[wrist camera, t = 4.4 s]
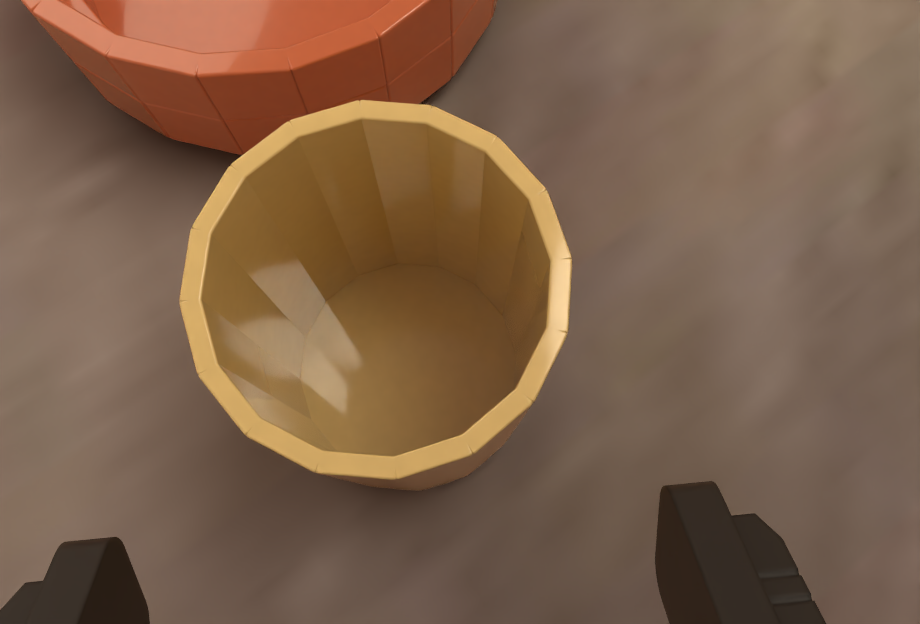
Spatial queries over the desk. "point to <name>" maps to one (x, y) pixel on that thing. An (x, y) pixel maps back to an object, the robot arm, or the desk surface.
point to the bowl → (259, 57)
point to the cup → (377, 293)
